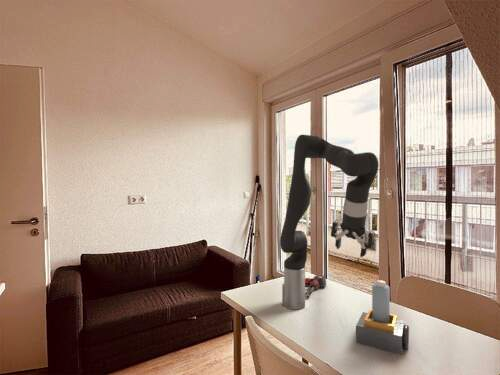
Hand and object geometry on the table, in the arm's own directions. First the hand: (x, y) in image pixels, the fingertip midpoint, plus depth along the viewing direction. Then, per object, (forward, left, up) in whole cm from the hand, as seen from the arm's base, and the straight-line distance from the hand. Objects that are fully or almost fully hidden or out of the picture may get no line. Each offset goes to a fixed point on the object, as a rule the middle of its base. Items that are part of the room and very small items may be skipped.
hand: (349, 251), depth 105 cm
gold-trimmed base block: (+10, +2, -30) cm, 32 cm away
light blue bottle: (+10, +2, -24) cm, 26 cm away
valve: (-29, +36, -31) cm, 55 cm away
